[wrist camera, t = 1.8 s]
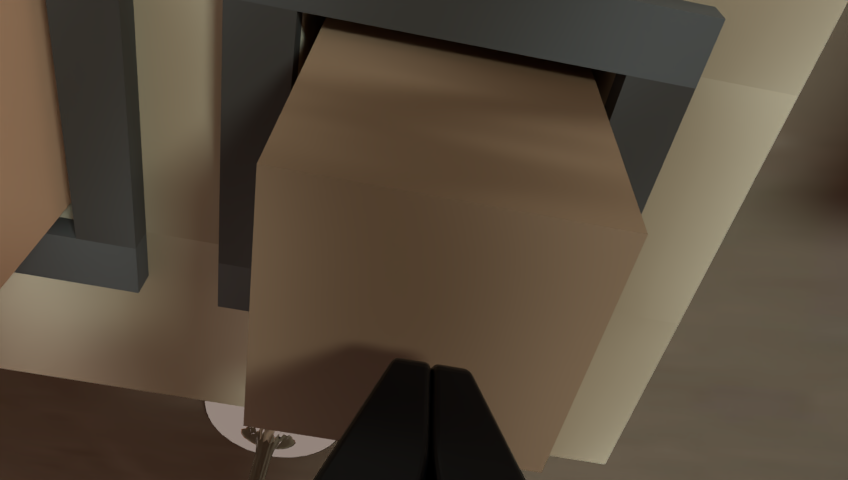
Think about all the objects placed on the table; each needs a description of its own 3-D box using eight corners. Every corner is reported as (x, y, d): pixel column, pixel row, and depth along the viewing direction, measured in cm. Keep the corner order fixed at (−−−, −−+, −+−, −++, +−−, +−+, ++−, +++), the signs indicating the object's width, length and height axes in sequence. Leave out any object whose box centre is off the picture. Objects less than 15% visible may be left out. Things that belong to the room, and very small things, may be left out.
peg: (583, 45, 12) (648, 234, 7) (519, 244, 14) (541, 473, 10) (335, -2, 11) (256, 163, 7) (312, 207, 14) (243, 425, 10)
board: (809, -256, 12) (1001, -240, 8) (577, 311, 20) (608, 484, 15) (-308, -511, 11) (-825, -659, 7) (-102, 194, 19) (-281, 344, 14)
